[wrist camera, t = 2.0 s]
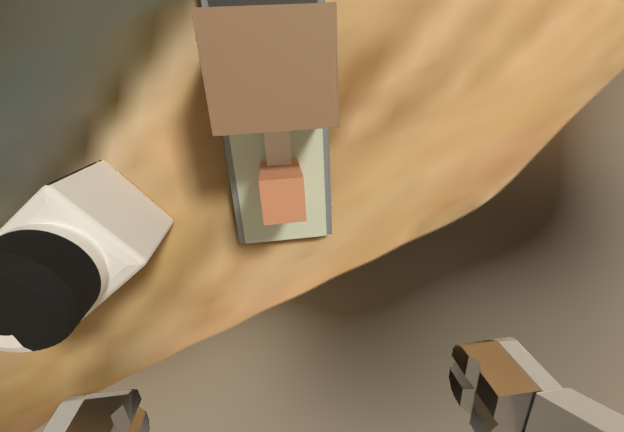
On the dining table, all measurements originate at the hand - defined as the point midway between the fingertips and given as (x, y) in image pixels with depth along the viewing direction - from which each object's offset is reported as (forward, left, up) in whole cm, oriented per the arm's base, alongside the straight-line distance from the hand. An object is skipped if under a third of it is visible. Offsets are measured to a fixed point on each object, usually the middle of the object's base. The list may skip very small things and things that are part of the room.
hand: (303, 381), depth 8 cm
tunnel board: (-5, 0, -20) cm, 20 cm away
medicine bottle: (+2, -14, -20) cm, 25 cm away
